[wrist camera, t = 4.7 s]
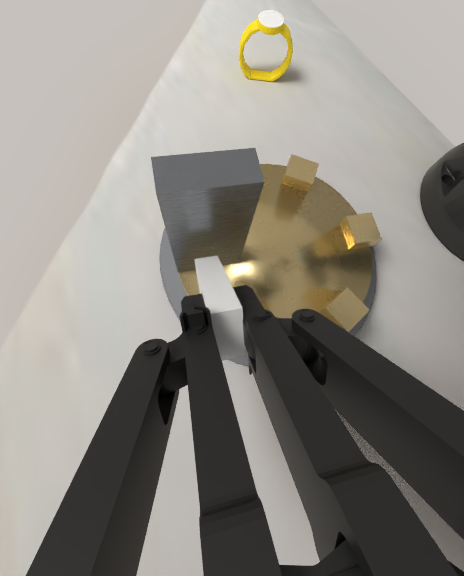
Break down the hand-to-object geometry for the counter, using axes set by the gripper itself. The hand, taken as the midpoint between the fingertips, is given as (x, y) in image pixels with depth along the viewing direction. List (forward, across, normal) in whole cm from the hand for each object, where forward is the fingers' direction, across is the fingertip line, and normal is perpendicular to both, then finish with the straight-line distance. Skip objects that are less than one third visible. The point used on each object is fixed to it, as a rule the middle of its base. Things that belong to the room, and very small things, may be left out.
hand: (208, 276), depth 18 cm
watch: (+24, +12, +14) cm, 30 cm away
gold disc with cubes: (+6, +7, -2) cm, 9 cm away
